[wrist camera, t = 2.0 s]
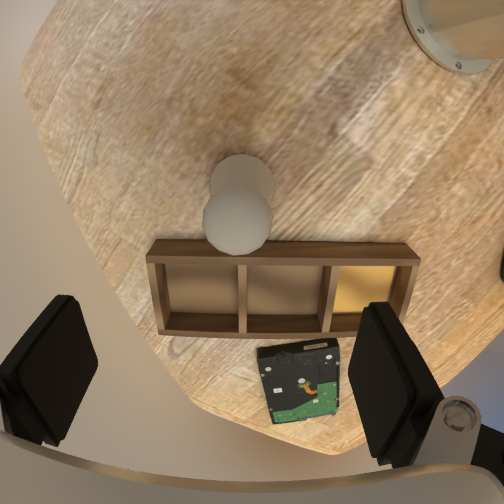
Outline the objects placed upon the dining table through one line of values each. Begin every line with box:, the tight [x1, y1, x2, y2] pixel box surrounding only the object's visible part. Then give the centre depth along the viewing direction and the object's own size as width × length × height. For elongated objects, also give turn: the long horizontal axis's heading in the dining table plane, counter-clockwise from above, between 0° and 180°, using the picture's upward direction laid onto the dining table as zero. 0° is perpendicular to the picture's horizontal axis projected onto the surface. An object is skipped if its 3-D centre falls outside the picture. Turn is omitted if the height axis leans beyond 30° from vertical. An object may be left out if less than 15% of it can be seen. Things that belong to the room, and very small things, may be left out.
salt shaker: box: [202, 154, 275, 256], centre depth 24 cm, size 6×6×13 cm
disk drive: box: [257, 338, 340, 424], centre depth 41 cm, size 10×3×15 cm
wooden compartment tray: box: [146, 239, 421, 339], centre depth 33 cm, size 10×27×4 cm, turn 89°
